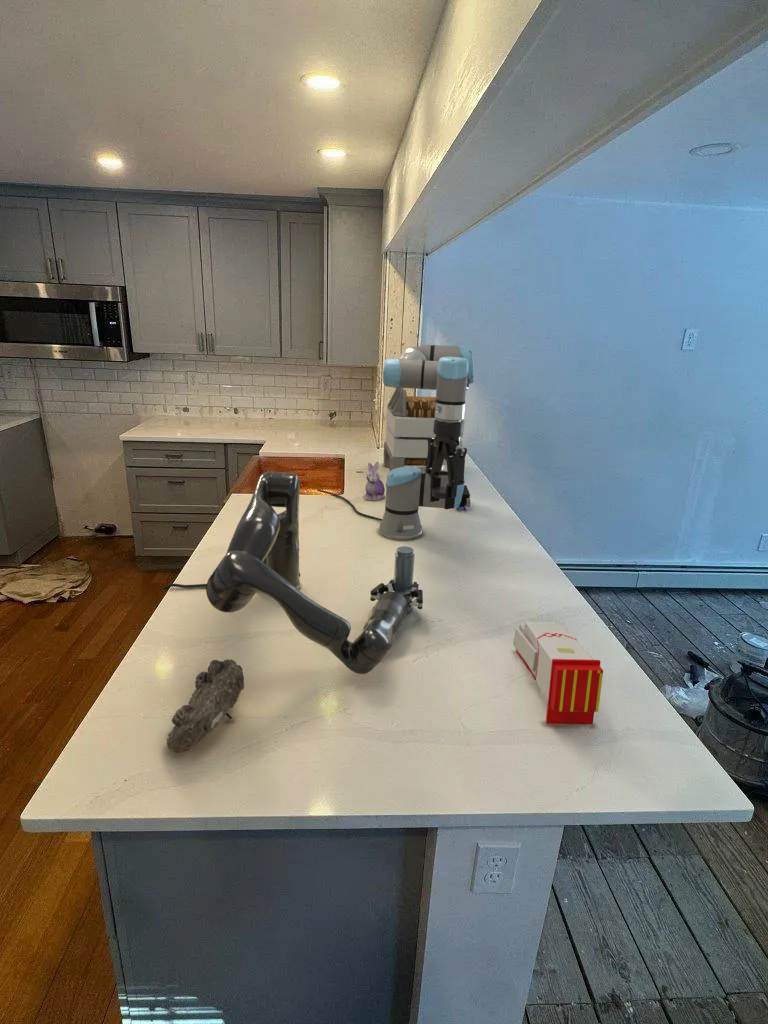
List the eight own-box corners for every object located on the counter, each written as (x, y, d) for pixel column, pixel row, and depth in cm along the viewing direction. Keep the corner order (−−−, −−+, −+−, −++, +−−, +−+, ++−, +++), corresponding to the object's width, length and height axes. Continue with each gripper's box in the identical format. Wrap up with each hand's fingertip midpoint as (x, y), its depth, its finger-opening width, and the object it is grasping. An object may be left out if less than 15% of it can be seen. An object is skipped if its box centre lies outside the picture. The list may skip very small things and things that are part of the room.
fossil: (192, 660, 117) (244, 628, 112) (224, 691, 120) (276, 661, 115) (142, 746, 98) (202, 712, 93) (182, 779, 101) (242, 748, 96)
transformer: (382, 463, 289) (386, 382, 275) (445, 464, 293) (451, 384, 279) (390, 482, 257) (394, 392, 243) (460, 483, 261) (468, 394, 247)
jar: (389, 605, 151) (392, 547, 146) (405, 602, 153) (409, 544, 148) (397, 614, 147) (400, 554, 141) (414, 611, 149) (418, 551, 143)
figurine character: (470, 515, 225) (465, 499, 238) (472, 498, 221) (467, 483, 235) (453, 515, 224) (449, 499, 238) (455, 497, 221) (451, 482, 234)
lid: (453, 499, 149) (453, 494, 149) (430, 498, 150) (431, 492, 150) (453, 493, 155) (454, 487, 154) (432, 491, 156) (432, 485, 155)
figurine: (369, 502, 230) (370, 466, 225) (359, 494, 239) (360, 460, 234) (390, 499, 234) (391, 464, 229) (378, 492, 243) (380, 458, 238)
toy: (559, 606, 135) (612, 666, 105) (553, 658, 137) (604, 731, 108) (508, 605, 134) (547, 665, 105) (504, 658, 137) (541, 730, 108)
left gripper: (359, 622, 138) (379, 591, 154) (416, 632, 135) (430, 600, 150) (360, 594, 136) (380, 566, 151) (418, 605, 132) (432, 574, 148)
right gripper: (415, 414, 151) (410, 496, 159) (461, 428, 136) (453, 518, 144) (437, 412, 155) (431, 492, 163) (484, 425, 140) (475, 513, 148)
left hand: (405, 583), depth 151 cm, fingers closed on jar, 5 cm apart
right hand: (441, 504), depth 153 cm, fingers closed on lid, 6 cm apart
